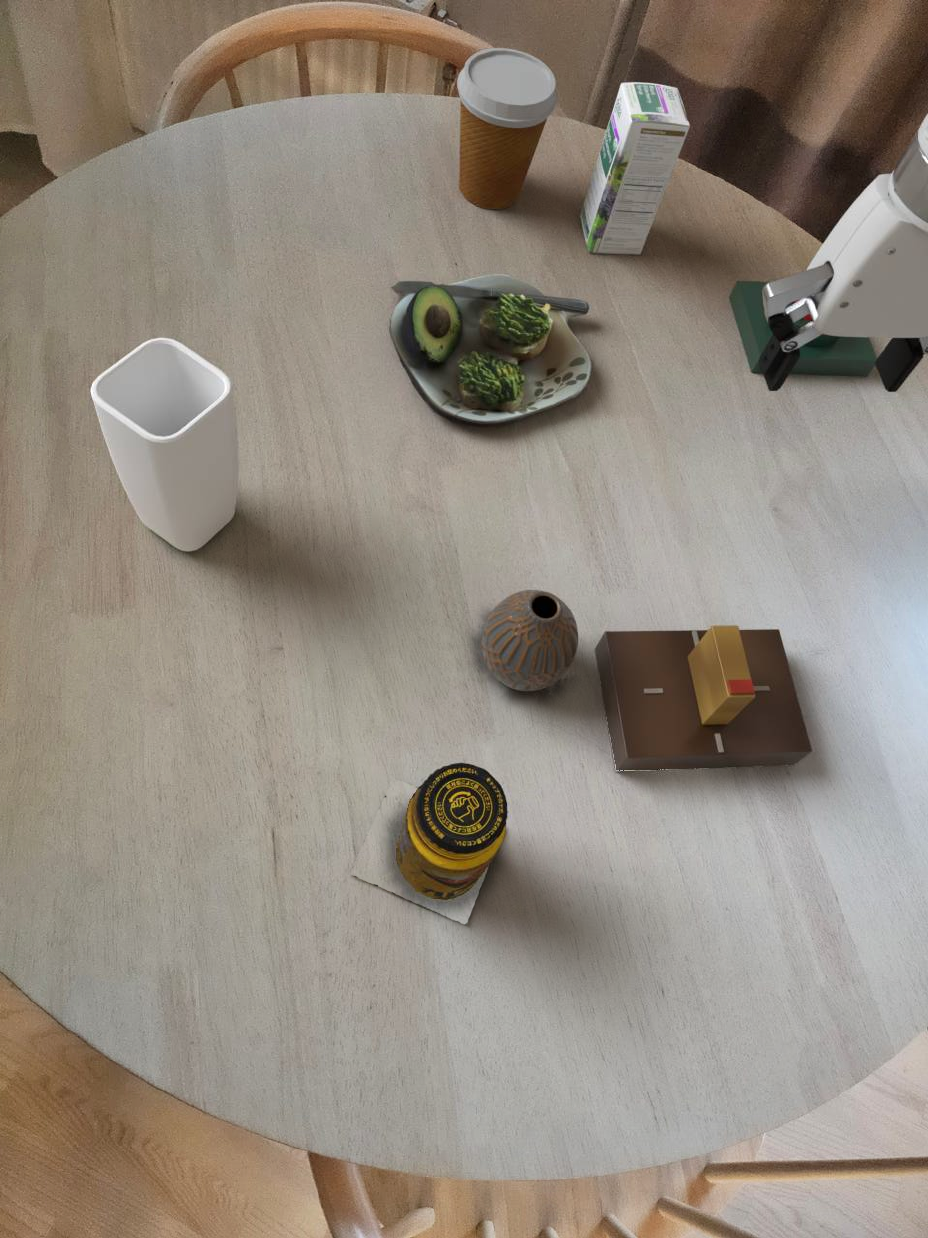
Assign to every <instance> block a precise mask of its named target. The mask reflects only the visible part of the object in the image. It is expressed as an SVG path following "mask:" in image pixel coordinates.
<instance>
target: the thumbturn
mask: <svg viewBox="0 0 928 1238" xmlns="http://www.w3.org/2000/svg"><path fill="white" fill-rule="evenodd" d="M739 628H740V627H739V625H737V624H736V625H711V626H710V627H709V629H707V630H708V631H707V632H706V634H705V635H704V636H703V638H702V639H701V640H700V641H699V643H698V644H697V645H696V646H695V648H694V649H693V650H692V652H691V653H690V654H689V655H688V662H689V666H690V671H691V675H692V680H693V685H694V689H695V694H696V698H697V703H698V707H699V712H700V717H701V721H702V725H715V724H728V723H729V722H730V721H731V720H732V719H734V718H735V717H736V716H737V715H738V714H739V713H740V712H741V711H742V710H743V709H744V708H745V707H746V706H747V705H748V704H749V703H750V702H751V701H752V700H753V699H754V698H755V692H754V688H753V684H752V680H751V676H750V672H749V668H748V664H747V660H746V656H745V652H744V648H743V644H742V640H741V636H740V632H739V630H740V629H739Z"/></svg>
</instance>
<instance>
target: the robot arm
mask: <svg viewBox="0 0 928 1238" xmlns="http://www.w3.org/2000/svg"><path fill="white" fill-rule="evenodd" d="M769 282H770V283H768V284H766V285H765V286H764V287H763V289H762V294H763V305H764V309H763V311H764V313H765V316H766V319H767V322H768V325H769V328H770V330H771V331H772V333H773V335H772V336H771V338H770V340H769V342H768V343H767V345H766V347H765V349H764V350H763V352H762V354H761V356H760V358H759V368H760V371H761V373H760V374H762V375H763V378H764V381H765V383H766V387H767V390H768V391H769V392H778V391H779V390H780V389H781V388H782V386H783V385H784V383H785V381H786V380H787V378H788V377H789V375H791V374H790V372H791V370H792V369H793V367H794V366H795V364H796V362H797V361H798V359H799V358H800V351H799V347H801V346H803V345H804V344H806V343H808V342H809V341H811V340H813V339H815V338H816V337H818V336H820V335H822V334H826V335H832V336H842V337H869V338H879V339H880V338H881V339H885V338H886V339H890V340H889V342H888V343H887V344H886V346H885V348H884V349H883V350H882V351H881V353H880V354H879V356H878V357H877V360H876V362H875V368H876V370H877V372H878V373H877V374H878V375H879V378H880V379H881V383H882V385H883V387H884V389H885V390H886V391H887V392H888V393H896V392H897V391H898V390H899V389H900V388H901V387H902V386H903V384H904V383H905V381H906V380H907V379H908V378H909V377H910V376H911V374H912V373H913V371H914V370H915V369H916V367H917V366H918V365H919V364H920V363H921V361H922V360H923V359H924V356H925V355H928V113H927V114H926V115H925V117H924V119H923V120H922V122H921V124H920V125H919V127H918V129H917V130H916V132H915V134H914V135H913V136H912V138H911V141H910V142H909V144H908V145H907V147H906V148H905V151H903V153H902V156H901V157H900V159H899V161H898V162H897V164H896V166H895V167H894V169H893V171H892V172H891V173H883V174H879V175H877V176H876V177H875V178H874V179H873V180H872V181H871V182H870V184H868V185H867V186H866V188H864V189H863V191H862V192H861V193H860V195H859V196H857V198H856V199H855V200H854V201H853V202H852V203H851V205H850V206H849V207H848V209H847V210H846V211H845V212H844V214H843V215H842V216H841V218H840V219H839V220H838V222H837V223H836V225H835V226H834V227H833V228H832V230H831V231H830V233H829V234H828V236H827V237H826V238H825V240H824V242H822V245H821V246H820V248H819V249H818V251H817V252H816V253H815V255H814V256H813V258H812V260H811V261H810V263H809V265H808V266H807V268H806V270H804V271H800V272H798V273H794V274H792V275H788V276H785V277H782V278H779V279H775V280H773V281H769ZM800 299H801V300H800ZM797 300H799V301H797ZM794 301H797V302H796V303H794V304H793V305H791V306H789V307H788V308H786V306H787V305H788V304H789V303H791V302H794ZM809 313H810V316H811V319H812V321H813V322H812V321H811V322H809V323H808V324H806V325H804V326H803V327H801V328H799V329H798V330H796V329H795V326H794V324H793V323H794V322H796V321H798V320H799V319H801V318H803V317H804V316H806V315H808V314H809Z"/></svg>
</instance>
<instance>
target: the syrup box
mask: <svg viewBox="0 0 928 1238" xmlns="http://www.w3.org/2000/svg"><path fill="white" fill-rule="evenodd" d="M684 105H685V104H684V103H683V100H682V97H681V93H680V91H679V89H678V87H675V86H671V85H670V86H669V85H665V84H659V83H654V82H653V83H652V82H636V81H629V82H621V83H620V85H619V89H618V92H617V96H616V98H615V102H614V105H613V108H612V112H611V114H610V118H609V121H608V124H607V128H606V131H605V133H604V136H603V139H602V143H601V146H600V149H599V152H598V156H597V159H596V161H595V162H596V163H595V164H594V165H595V166H594V168H593V172H592V176H591V178H590V181H589V185H588V189H587V191H586V194H585V199H584V202H583V205H582V209H581V212H580V216H579V217H580V221H581V227H582V231H583V237H584V241H585V245H586V249H587V252H588V254H606V255H607V254H609V255H642V251H643V249H644V246H645V245H646V241H647V238H648V237H649V236H648V235H649V234H650V231H651V229H652V226H653V223H654V220H655V219H656V216H657V213H658V211H659V208H660V205H661V203H662V200H663V198H664V195H665V192H666V190H667V187H668V184H669V183H670V179H671V177H672V174H673V172H674V170H675V166H676V164H677V161H678V159H679V156H680V154H681V151H682V149H683V146H684V143H685V140H686V137H687V135H688V132H689V130H690V126H691V124H690V122H689V121H688V117H687V112H686V109H685V106H684Z"/></svg>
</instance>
